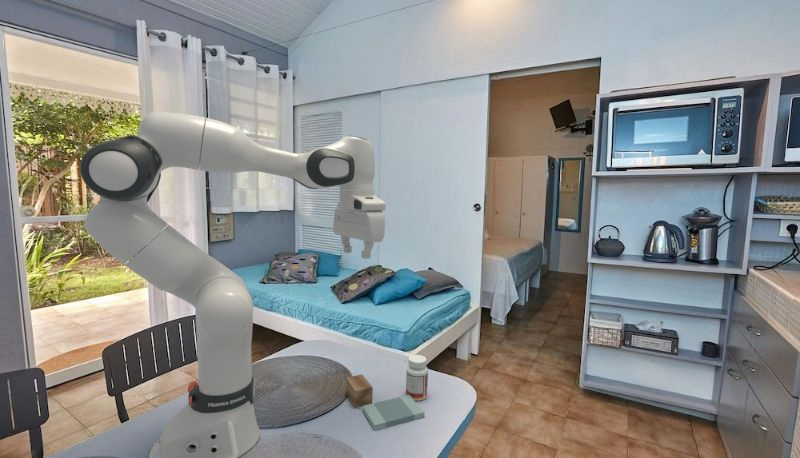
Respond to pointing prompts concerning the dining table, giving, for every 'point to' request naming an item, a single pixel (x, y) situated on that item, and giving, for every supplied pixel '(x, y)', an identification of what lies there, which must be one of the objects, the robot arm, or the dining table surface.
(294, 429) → the dining table surface
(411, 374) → the pill bottle
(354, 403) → the walnut block
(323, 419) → the dining table surface
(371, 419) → the plate
